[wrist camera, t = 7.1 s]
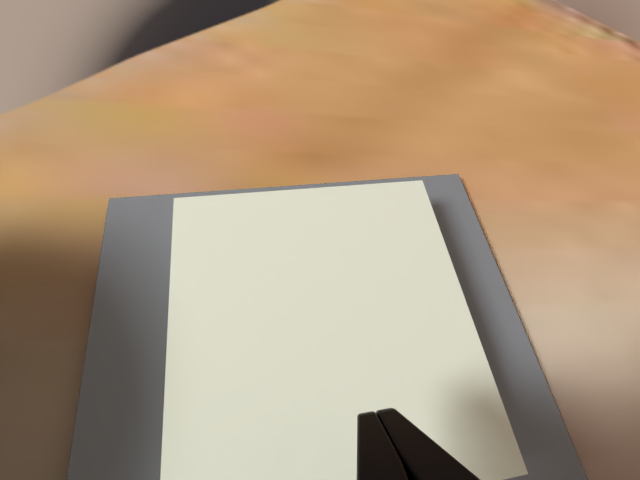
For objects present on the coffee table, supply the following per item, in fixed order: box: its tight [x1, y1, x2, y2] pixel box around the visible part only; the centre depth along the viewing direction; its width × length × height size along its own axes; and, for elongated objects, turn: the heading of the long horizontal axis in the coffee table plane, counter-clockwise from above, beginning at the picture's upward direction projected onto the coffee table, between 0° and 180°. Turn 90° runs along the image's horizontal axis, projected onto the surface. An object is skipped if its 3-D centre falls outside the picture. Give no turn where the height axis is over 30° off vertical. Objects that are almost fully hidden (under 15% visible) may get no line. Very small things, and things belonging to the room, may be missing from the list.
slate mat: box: [66, 174, 588, 480], centre depth 15 cm, size 18×20×1 cm
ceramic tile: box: [160, 180, 528, 480], centre depth 14 cm, size 2×12×12 cm
